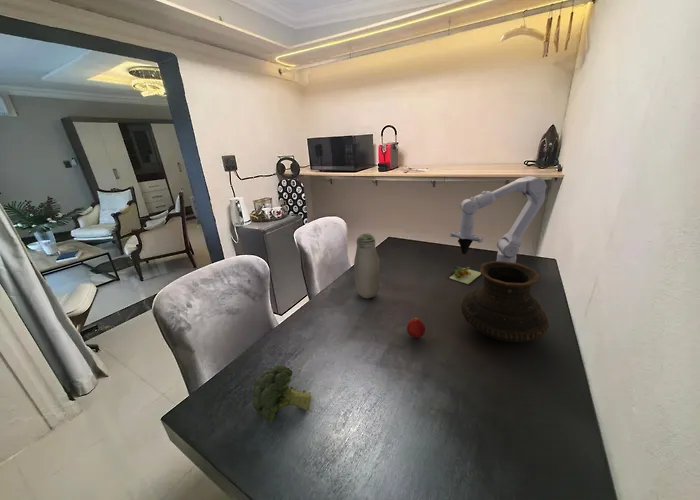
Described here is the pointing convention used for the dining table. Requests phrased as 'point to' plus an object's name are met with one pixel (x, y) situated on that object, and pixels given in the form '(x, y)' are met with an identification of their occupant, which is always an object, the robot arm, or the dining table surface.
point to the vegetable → (277, 393)
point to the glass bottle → (366, 267)
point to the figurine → (461, 272)
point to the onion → (416, 328)
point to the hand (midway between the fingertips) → (464, 253)
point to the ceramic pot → (506, 304)
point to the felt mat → (467, 277)
